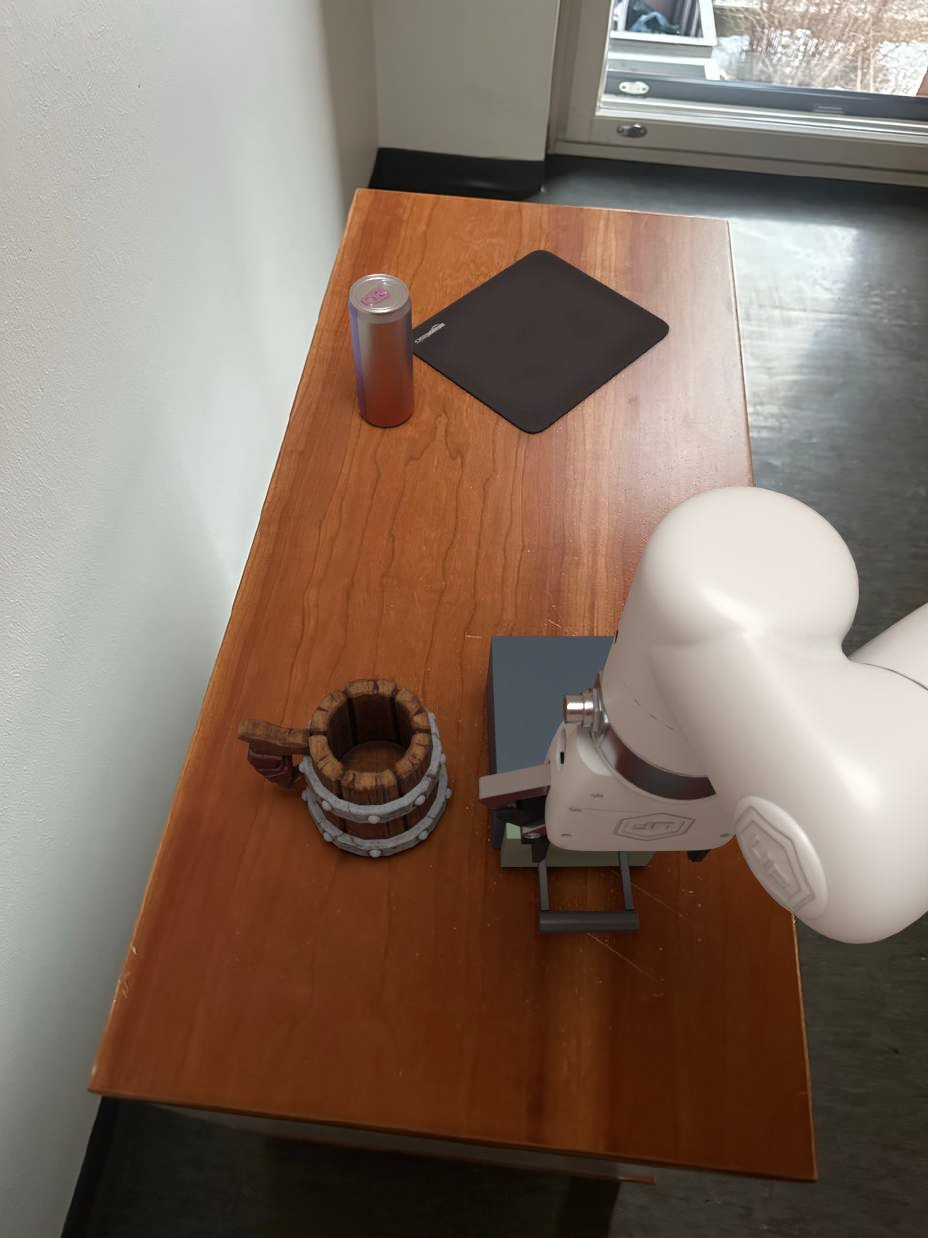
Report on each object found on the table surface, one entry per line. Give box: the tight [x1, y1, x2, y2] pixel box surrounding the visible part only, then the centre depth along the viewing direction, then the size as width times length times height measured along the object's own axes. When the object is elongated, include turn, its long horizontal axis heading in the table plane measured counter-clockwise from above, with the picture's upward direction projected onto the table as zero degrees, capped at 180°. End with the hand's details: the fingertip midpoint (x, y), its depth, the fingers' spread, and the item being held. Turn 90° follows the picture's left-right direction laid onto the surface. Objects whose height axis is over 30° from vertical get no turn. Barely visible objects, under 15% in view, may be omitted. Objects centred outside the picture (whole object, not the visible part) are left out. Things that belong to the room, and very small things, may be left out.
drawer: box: [499, 823, 657, 935], centre depth 68 cm, size 19×11×7 cm, turn 1°
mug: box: [237, 677, 453, 858], centre depth 67 cm, size 12×14×15 cm
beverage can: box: [347, 273, 415, 428], centre depth 90 cm, size 6×6×15 cm
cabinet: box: [485, 635, 615, 850], centre depth 71 cm, size 15×13×9 cm
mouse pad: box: [412, 249, 670, 434], centre depth 103 cm, size 25×21×1 cm
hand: (613, 838), depth 55 cm, fingers open, 9 cm apart
